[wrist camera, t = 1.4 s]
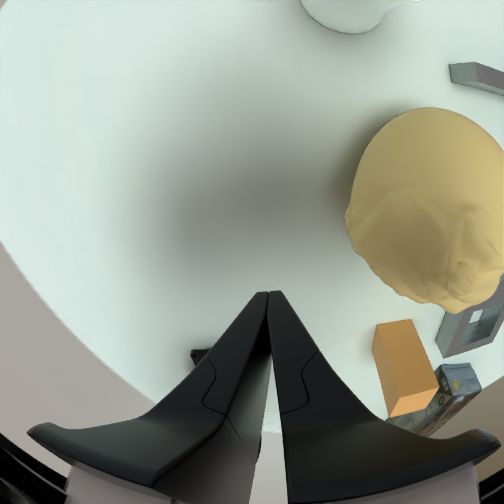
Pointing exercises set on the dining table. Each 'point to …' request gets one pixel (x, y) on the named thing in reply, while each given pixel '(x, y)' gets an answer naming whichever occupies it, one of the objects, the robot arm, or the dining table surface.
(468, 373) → the beverage carton
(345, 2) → the beer glass
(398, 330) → the orange rectangular block
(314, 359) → the robot arm
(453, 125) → the sculpture
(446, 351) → the grey flat openwork piece
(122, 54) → the dining table surface
